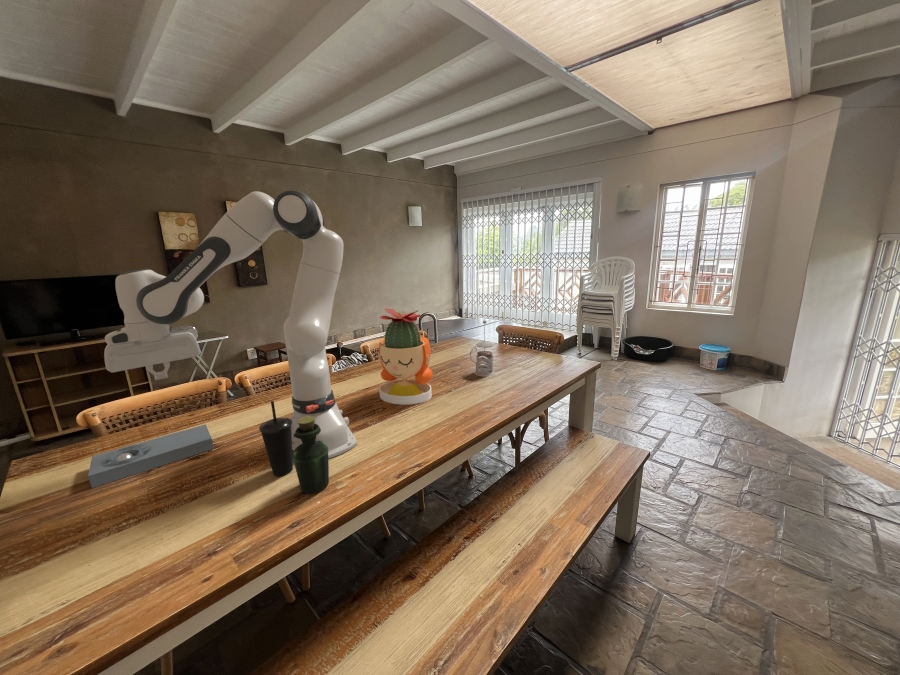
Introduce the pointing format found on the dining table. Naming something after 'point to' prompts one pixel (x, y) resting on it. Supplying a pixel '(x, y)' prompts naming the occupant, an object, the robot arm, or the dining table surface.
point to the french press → (483, 369)
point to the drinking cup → (278, 443)
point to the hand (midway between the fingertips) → (161, 378)
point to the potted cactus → (404, 361)
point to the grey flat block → (149, 455)
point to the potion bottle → (311, 457)
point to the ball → (124, 456)
